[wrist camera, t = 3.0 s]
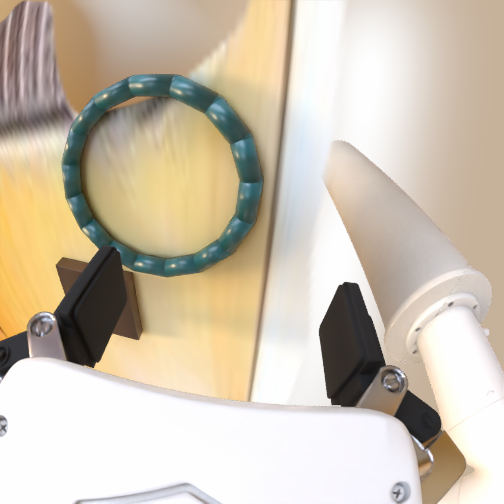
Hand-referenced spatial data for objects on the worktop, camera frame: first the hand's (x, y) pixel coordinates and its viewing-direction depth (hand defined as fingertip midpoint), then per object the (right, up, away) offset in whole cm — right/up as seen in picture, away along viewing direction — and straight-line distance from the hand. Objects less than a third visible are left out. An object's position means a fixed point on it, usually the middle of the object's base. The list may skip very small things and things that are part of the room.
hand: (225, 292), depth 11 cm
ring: (-7, +7, +8) cm, 12 cm away
